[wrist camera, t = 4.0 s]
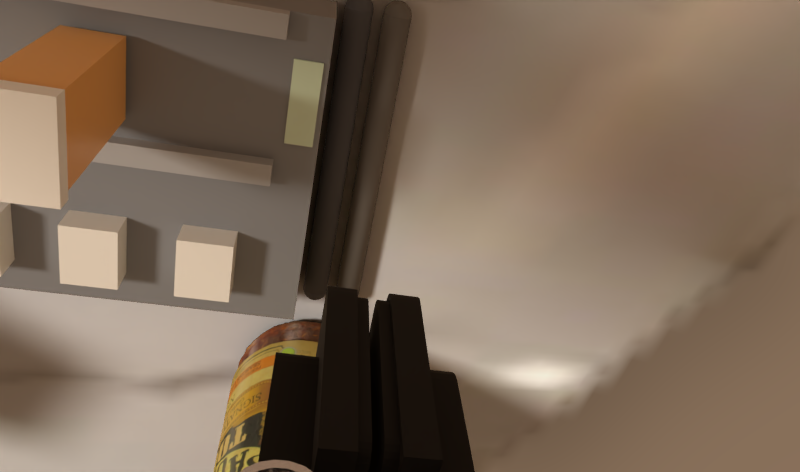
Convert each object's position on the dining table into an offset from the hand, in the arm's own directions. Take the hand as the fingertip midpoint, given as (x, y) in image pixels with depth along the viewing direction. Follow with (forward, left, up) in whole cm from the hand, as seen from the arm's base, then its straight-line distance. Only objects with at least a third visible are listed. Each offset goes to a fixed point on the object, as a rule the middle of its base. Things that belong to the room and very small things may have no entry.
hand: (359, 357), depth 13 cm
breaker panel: (+3, -8, -16) cm, 19 cm away
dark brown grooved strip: (+3, +1, -16) cm, 17 cm away
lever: (0, -8, -13) cm, 16 cm away
